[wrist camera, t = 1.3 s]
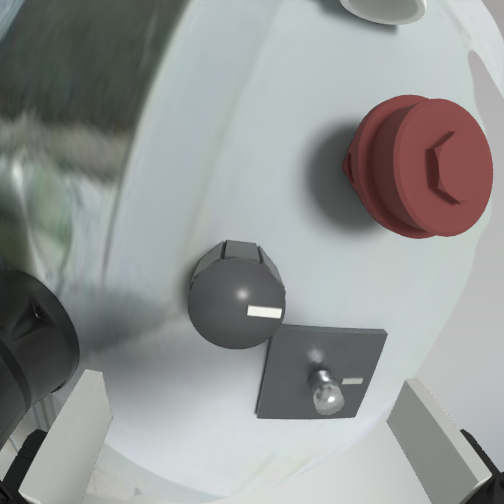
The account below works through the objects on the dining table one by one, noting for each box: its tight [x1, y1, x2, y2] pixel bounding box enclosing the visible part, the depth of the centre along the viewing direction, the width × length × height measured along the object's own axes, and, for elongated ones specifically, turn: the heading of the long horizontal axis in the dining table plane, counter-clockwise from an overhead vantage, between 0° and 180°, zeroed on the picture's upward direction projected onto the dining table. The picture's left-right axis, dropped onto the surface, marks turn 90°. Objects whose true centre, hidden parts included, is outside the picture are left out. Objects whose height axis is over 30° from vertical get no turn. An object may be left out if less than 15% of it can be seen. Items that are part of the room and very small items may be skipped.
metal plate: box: [256, 324, 388, 419], centre depth 28 cm, size 12×12×5 cm
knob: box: [188, 240, 286, 349], centre depth 25 cm, size 7×7×6 cm
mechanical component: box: [342, 95, 493, 239], centre depth 20 cm, size 12×10×10 cm
